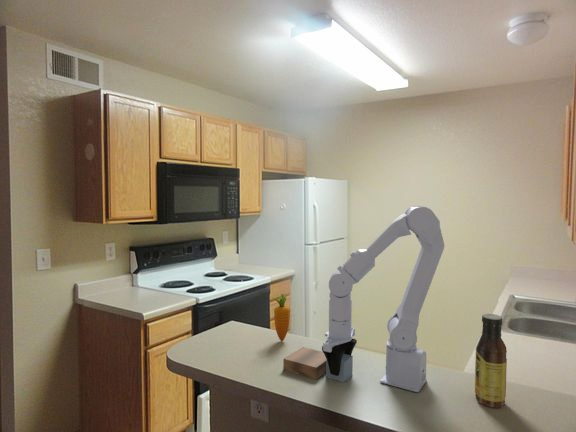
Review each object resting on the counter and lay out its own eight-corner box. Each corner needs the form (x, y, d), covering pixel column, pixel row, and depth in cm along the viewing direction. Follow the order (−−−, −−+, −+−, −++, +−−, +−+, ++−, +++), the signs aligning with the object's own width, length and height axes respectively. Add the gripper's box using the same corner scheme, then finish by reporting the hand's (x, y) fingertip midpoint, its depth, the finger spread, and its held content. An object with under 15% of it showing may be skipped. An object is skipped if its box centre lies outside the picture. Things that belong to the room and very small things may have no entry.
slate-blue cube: (352, 374, 104) (352, 355, 104) (344, 382, 100) (344, 362, 100) (334, 370, 107) (335, 351, 106) (326, 377, 103) (326, 357, 102)
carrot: (283, 345, 124) (283, 297, 123) (270, 341, 127) (271, 295, 126) (292, 340, 128) (293, 294, 127) (280, 337, 131) (280, 292, 130)
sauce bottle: (478, 392, 95) (481, 309, 94) (508, 401, 91) (511, 314, 90) (470, 403, 90) (473, 316, 89) (501, 413, 86) (504, 321, 85)
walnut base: (334, 365, 110) (334, 354, 110) (316, 379, 101) (316, 367, 101) (302, 357, 115) (302, 346, 115) (283, 369, 107) (283, 358, 107)
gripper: (338, 309, 111) (337, 357, 111) (312, 323, 99) (311, 377, 99) (362, 313, 107) (361, 363, 108) (338, 328, 95) (337, 384, 96)
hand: (339, 370), depth 103 cm, fingers closed on slate-blue cube, 5 cm apart
